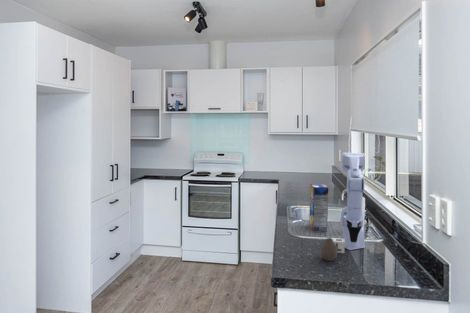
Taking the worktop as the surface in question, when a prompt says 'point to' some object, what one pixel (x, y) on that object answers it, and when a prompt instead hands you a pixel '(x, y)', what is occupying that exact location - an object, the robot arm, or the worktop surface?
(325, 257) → the vase
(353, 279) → the worktop surface
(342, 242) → the letter cube
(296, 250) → the worktop surface
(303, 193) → the worktop surface
